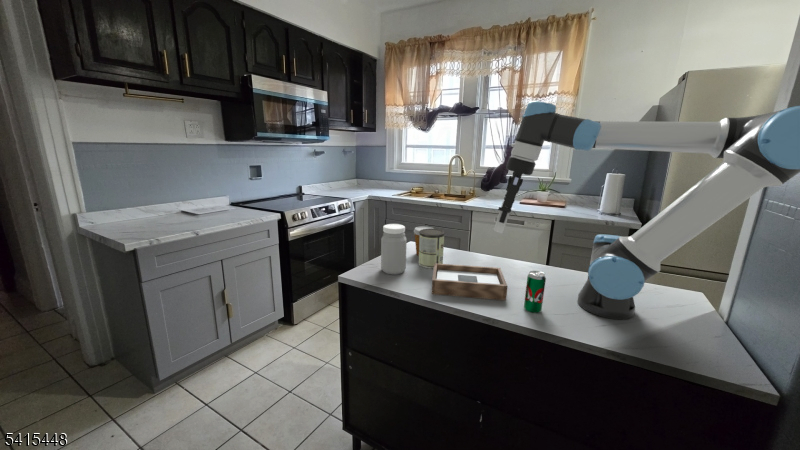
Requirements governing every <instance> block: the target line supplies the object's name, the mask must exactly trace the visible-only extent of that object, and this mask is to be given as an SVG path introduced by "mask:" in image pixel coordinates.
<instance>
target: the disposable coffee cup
mask: <svg viewBox="0 0 800 450" xmlns="http://www.w3.org/2000/svg"><path fill="white" fill-rule="evenodd" d="M422 229H434V227H430V226H422V225H421V226H416V227H414V230H413V234H414V241H415V252H416V255H417V256H418V257H419V237H420V233H419V231H420V230H422Z"/></svg>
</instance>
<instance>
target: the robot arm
mask: <svg viewBox="0 0 800 450" xmlns="http://www.w3.org/2000/svg"><path fill="white" fill-rule="evenodd" d="M556 109H557V106H556V105H555V104H552V103H550V102H549V103H548V102H544V101H540V100H539V101H538V100H532V101H531V100H530V101H529V102H528V104H527V105H526V108H525V111H524V113H523V115H522V117H521V122H520V124H519V128H518V131H517V134H516V136H515V137H516V138H515V140H514V143H511V145H510V146H511V147H512V150H511V151H510V152H511V153H510V154H511V156H509V157H508V161H507V162H506V166H505V167H506V170H508V171H511V172H512V175H509V177H508V179H507V185H506V188H505V191H506V192H505V195H504V198H503V200H502V203H501V206H499V207H498V209H497V210H498V211H499V212H498V214H497V217H496V220H495V221H496V222H495V225H494V227H493V230H492V231H493V232H495V233H499V234H502V235H503V233H504V230H505V228H506V225H507V222H508V219H509V216H510V213H511V212H512V207H513V204H514V203H515V199H516V195H517V194H519V191H520V187H522V184H523V183H524V181H523V180H524V179H523V178H522V176H523V175H525V176H530V175H533V173H534V169H535V166H536V165H537V164H536V162H535V161H538V160H539V157H540V154H541V151H542V148H543V145H544V142H547V143H551V144H556V145H560V146H563V147H567V148H571V149H575V150H576V151H577V150H579V151H585V152H589V151H592V149H607V150H609V149H610V150H626V151H627V150H628V151H629V150H630V151H647V152H648V151H650V152H651V151H652V152H669V153H670V152H671V153H688V154H689V153H690V154H692V153H693V154H709V155H710V156H711V157H712V158H714V159H723V161H722V162H721V163H720V164H719V165H717V166H716V167H715V168H714V169H712V171H710V172H709V173H708V174H706V175H705V176H704V177H703V178H701V179H700V180H699V181H697V183H695V184H694V185H692V186H691V187H690V188H689V189H688V190H686V191H685V192H684V193H682V195H680V196H679V197H678V198H676V199H675V200H674V201H673V202H672V203H671V204H669V205H668V206H667V207H665V208H664V209H663V210H662V211H660V212H659V213H658V214H656V215H655V216H654V217H652V219H650V220H649V221H648V222H647V223H645V224H644V225H643V226H642V227H640V228H639V229H638V230H637V231H636V232H634V233H633V234H632V235H630V236H622V235H621V236H620V235H615V234H605V233H604V234H603V233H600V234H596V235H595V237H594V239H593V242H592V251H591V257H590V262H589V267H588V268H587V280H586V281H585V283H584V285H583V286H582V288H581V290H580V291H579V293H578V296H577V304H578V305H579V306H580V308H582V309H583V310H585V311H587V312H589V313H591V314H594V315H595V316H600V317H603V318H607V319H612V320H628V319H632V318H633V317H634V316H635V312H636V306H635V300H634V299H635V298H634V297H636V296H637V295H638V294H639V293H640V292H641V291H642V289H643V288H644V286H645V282H646V281H648V280H650V279H651V278H652V277H653V276H655V275H656V274H657V273H659V272H660V271H661V262H662V261H664V260H666V259H667V257H669V256H671V255H672V254H673V253H675V252H676V251H678V250H679V249H680V248H682V247H683V246H685V244H687V243H688V242H690V241H691V240H693V239H694V238H696V237H697V236H698V235H700V234H701V233H703V232H704V231H705V230H707V229H708V228H709V227H711V226H712V225H714V224H715V223H716V222H718V221H720V219H722V218H723V217H725V216H726V215H728V214H729V213H730V212H731V211H733V210H734V209H736V208H737V207H739V206H740V205H742V204H743V203H744V202H746V201H747V200H749V198H752V196H754V195H755V194H757V193H758V192H759V191H761V190H762V189H763V188H768V187H780V186H782V185H784V184H785V183H787V182H788V181H790V180H791V179H792V178H793V177H795V176H796V175H798V174H799V173H800V105H795V106H791V107H787V108H783V109H781V110H776V111H772V112H766V113H764V114H756V115H751V116H750V115H749V116H743V117H724V118H722V119H720V120H719V121H623V120H622V121H619V120H618V121H617V120H615V121H613V120H611V121H610V120H609V121H603V120H602V121H601V120H599V121H597V120H592V119H590V118H587V119H586V118H582V117H576V116H570V115H564V114H560V113H557V110H556Z"/></svg>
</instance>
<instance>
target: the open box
mask: <svg viewBox="0 0 800 450" xmlns="http://www.w3.org/2000/svg"><path fill="white" fill-rule="evenodd" d="M438 270H448V271H462V272H475V273H489V274H497V277H498V280H499V283H500V284H490V283H478V282H465V281H452V280H440V279H437V271H438ZM431 279H432V280H431V281H432V282H431V295H439V296H452V297H463V298H474V299H485V300H499V301H507V295H508V284H507V281H506V279H505V276H504V274H503V271H502V270H501V267H491V266H478V265H464V264H454V263H453V264H450V263H443V264H439V263H434V268H433V272H432V278H431Z"/></svg>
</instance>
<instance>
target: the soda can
mask: <svg viewBox="0 0 800 450" xmlns="http://www.w3.org/2000/svg"><path fill="white" fill-rule="evenodd" d="M526 277H527V278H526V286H525V293H524V301H523V308H524V310H525V311H527V312H528V313H531V314H539V313H540V312H542V309H543V303H544V295H545V287H546V280H547V278H546V273H545V272H542V271H539V270H530V271H529V273H528V274H527V276H526Z"/></svg>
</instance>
